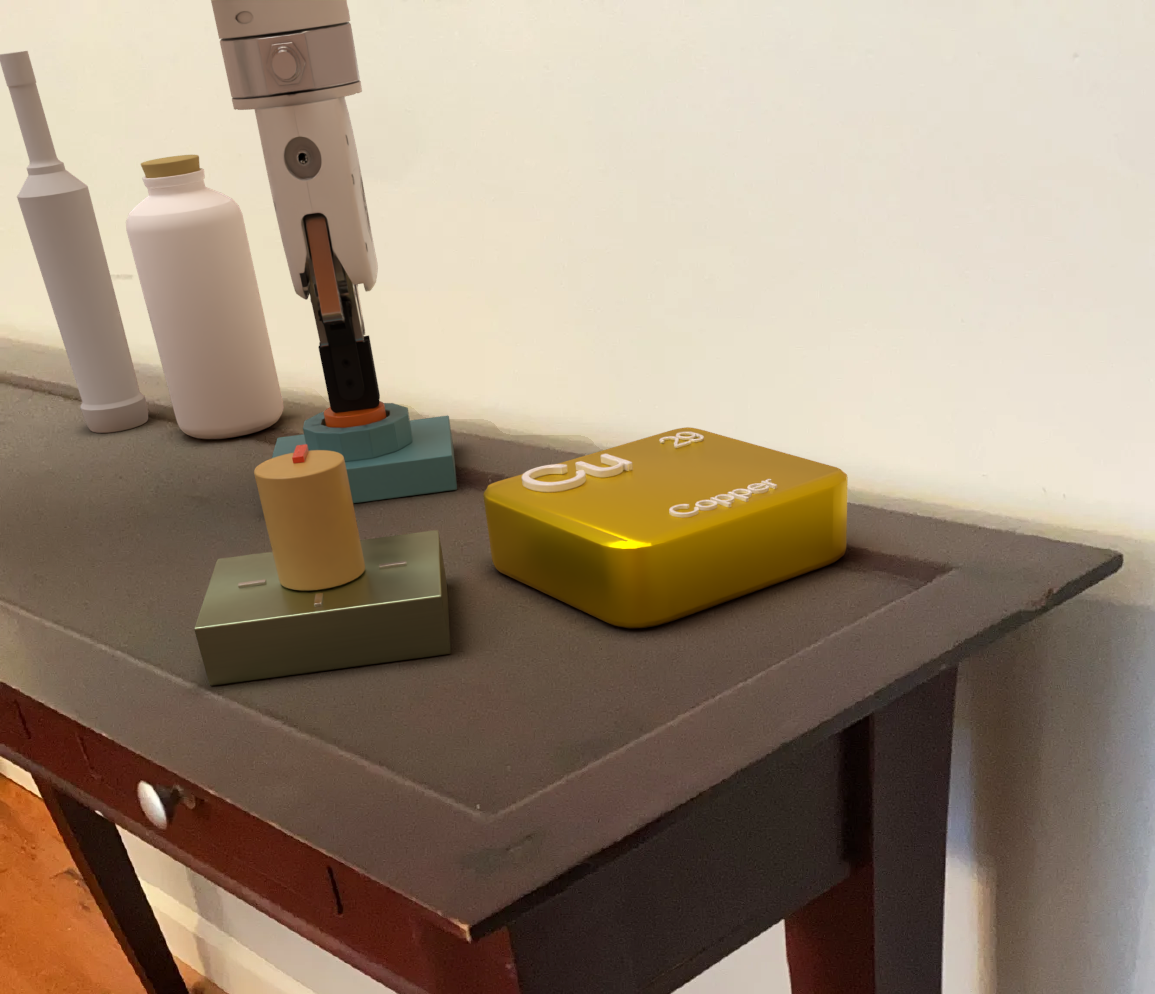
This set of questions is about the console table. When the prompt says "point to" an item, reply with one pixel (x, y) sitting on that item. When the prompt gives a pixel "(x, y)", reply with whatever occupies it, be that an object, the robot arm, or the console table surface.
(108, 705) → the console table surface
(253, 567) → the panel
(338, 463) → the knob
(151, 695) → the console table surface
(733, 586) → the element tile
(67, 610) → the console table surface
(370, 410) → the button
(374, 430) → the button base
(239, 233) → the potion bottle
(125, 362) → the bottle
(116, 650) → the console table surface
